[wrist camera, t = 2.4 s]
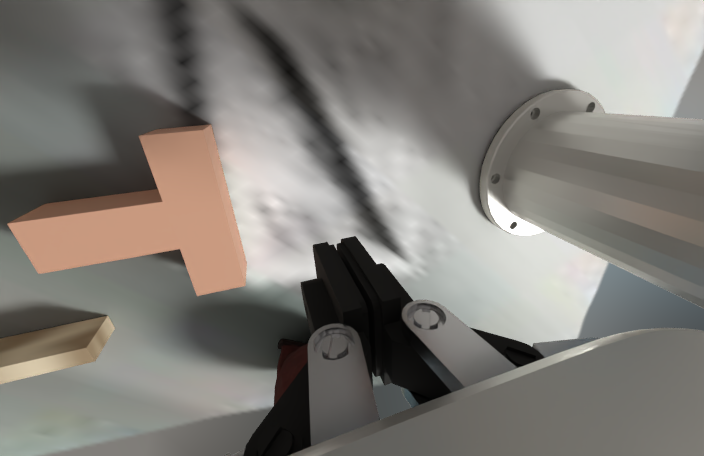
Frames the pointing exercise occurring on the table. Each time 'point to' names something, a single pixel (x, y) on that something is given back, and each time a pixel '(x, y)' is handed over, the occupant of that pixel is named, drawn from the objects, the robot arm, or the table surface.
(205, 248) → the t block
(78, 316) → the table surface
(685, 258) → the robot arm
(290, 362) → the mate gourd
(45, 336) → the wooden u-shaped bracket
